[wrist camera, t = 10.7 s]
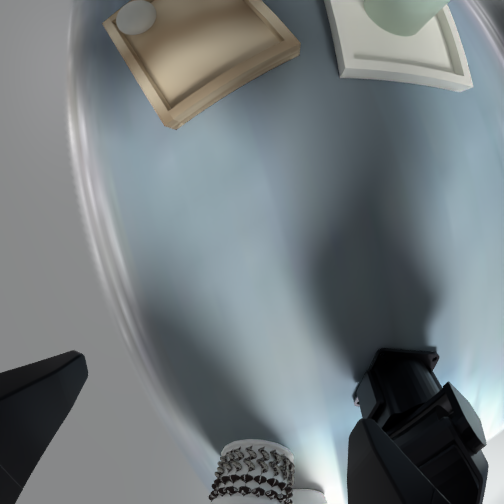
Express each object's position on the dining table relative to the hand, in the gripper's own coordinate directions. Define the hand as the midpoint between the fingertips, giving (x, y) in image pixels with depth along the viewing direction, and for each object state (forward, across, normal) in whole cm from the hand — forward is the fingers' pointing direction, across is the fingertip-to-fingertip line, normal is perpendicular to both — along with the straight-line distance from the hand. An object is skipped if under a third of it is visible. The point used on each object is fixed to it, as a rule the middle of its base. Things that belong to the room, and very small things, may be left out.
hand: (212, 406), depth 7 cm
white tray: (+13, -7, -21) cm, 26 cm away
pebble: (+12, +11, -17) cm, 24 cm away
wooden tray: (+13, +7, -16) cm, 22 cm away
